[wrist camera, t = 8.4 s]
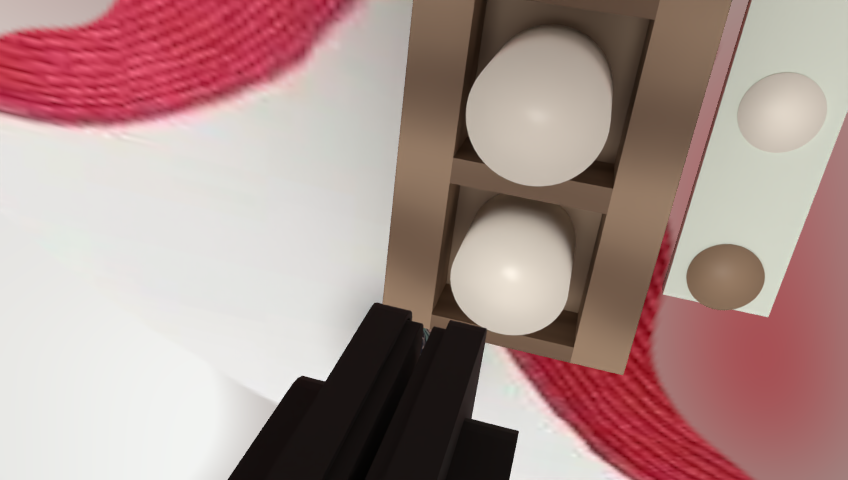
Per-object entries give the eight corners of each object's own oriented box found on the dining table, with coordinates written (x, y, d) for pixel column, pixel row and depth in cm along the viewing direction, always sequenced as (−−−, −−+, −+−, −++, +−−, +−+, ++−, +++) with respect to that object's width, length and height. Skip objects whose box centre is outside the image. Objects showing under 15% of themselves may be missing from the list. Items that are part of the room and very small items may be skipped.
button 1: (478, 180, 33) (458, 218, 29) (586, 201, 32) (580, 243, 28) (464, 273, 35) (443, 320, 31) (564, 295, 34) (556, 346, 30)
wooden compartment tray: (466, -266, 27) (442, -290, 23) (782, -237, 25) (807, -259, 21) (404, 278, 37) (381, 317, 33) (623, 327, 35) (623, 375, 32)
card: (794, -153, 26) (799, -155, 25) (936, -138, 25) (945, -139, 24) (661, 290, 34) (662, 297, 33) (765, 312, 33) (767, 320, 32)
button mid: (497, 15, 27) (476, 34, 24) (626, 35, 27) (626, 58, 23) (479, 135, 30) (457, 171, 26) (597, 158, 29) (593, 198, 25)
